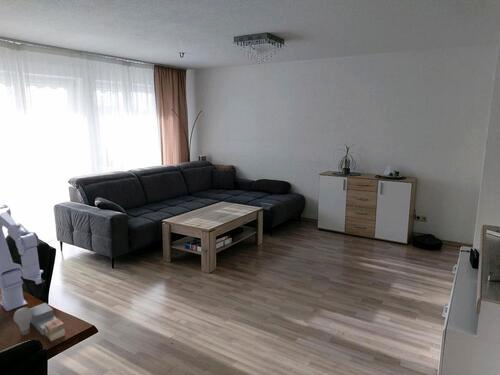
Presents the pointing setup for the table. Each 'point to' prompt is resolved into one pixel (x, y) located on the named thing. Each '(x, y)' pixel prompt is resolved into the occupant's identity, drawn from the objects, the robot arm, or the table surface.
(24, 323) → the lightbulb
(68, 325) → the table surface
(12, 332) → the table surface
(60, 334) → the birch cube
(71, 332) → the table surface
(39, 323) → the steps
